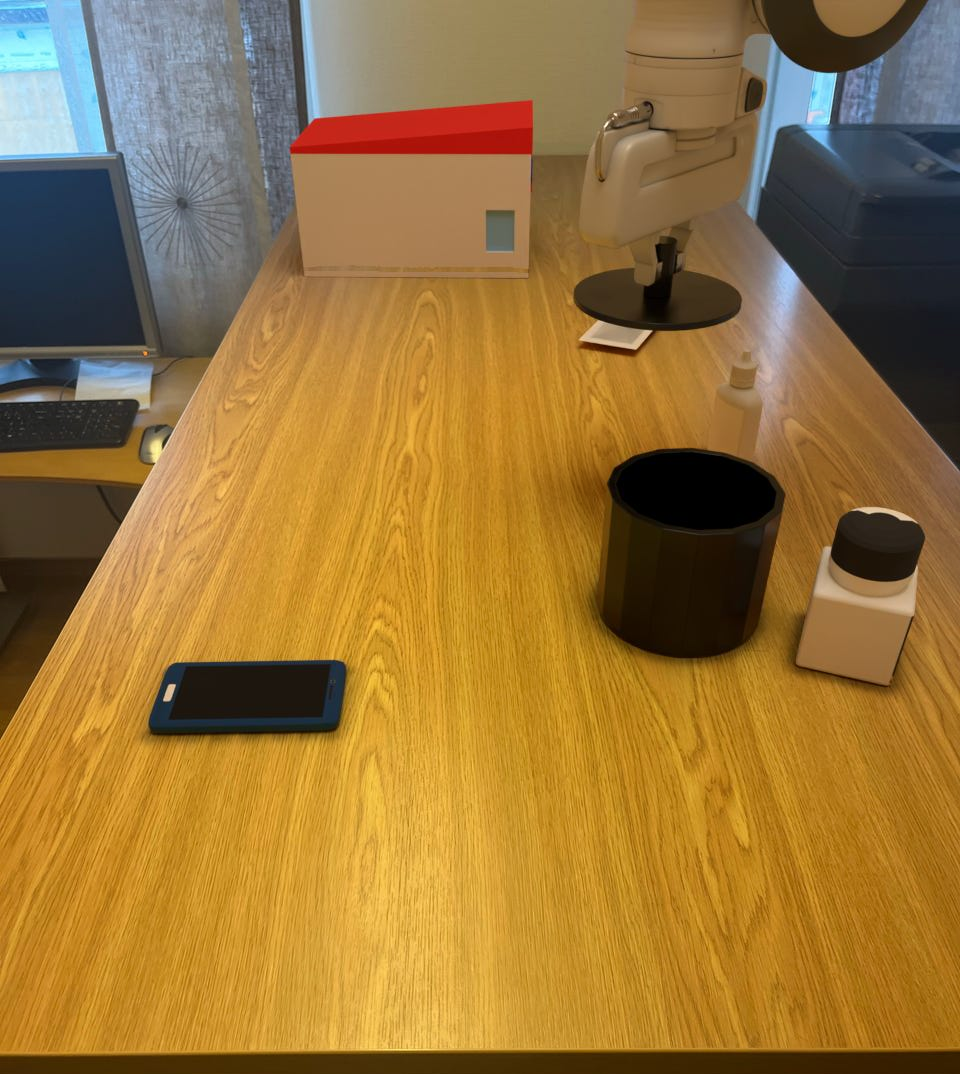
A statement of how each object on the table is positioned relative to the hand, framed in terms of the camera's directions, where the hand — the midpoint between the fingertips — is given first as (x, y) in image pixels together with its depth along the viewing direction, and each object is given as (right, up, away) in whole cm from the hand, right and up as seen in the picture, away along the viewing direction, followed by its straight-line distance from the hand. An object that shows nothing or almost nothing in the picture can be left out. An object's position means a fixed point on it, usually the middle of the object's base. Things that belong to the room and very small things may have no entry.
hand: (659, 277), depth 83 cm
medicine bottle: (+14, -32, -6) cm, 35 cm away
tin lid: (0, -2, +1) cm, 2 cm away
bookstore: (-25, +31, +75) cm, 85 cm away
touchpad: (+4, +10, +48) cm, 50 cm away
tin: (+1, -28, -1) cm, 28 cm away
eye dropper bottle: (+11, -12, +20) cm, 26 cm away
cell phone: (-33, -36, -10) cm, 49 cm away
